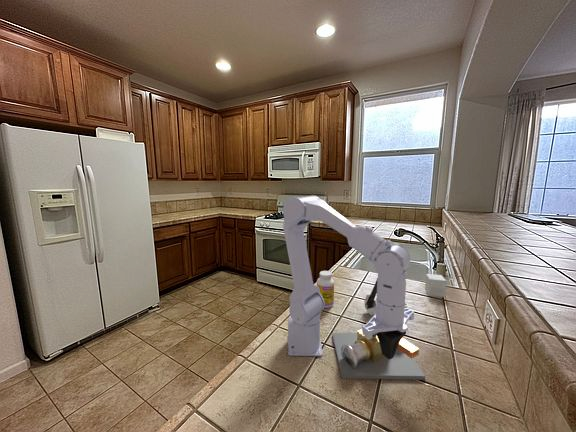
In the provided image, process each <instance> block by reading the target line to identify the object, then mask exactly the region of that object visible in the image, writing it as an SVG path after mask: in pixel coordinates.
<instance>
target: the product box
mask: <svg viewBox="0 0 576 432" xmlns="http://www.w3.org/2000/svg"><path fill="white" fill-rule="evenodd" d="M424 285H425V287H424V290H425V292H426V294H427V295H428V296H429V297H430V296H431V297H438V298H446V288H447V287H446V286H447V280H446V278H444V276H443V275H441V274H431V273H426V274H425V284H424Z"/></svg>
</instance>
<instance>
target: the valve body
mask: <svg viewBox="0 0 576 432" xmlns="http://www.w3.org/2000/svg"><path fill="white" fill-rule="evenodd" d="M356 333H357V341H355V343H354V345H351V346H350V345H348V344H345V345H343V346H342V347H341V354H342V358H343V359H344V360H345V361H346V362H347V363H348V364H349V365H350V366H351V367H352V368H353V369H354V368H356V367H357V366H358V362H360V361H362V360H364V361H367V360H369V359H370V360H371V361H372V362H373V363H374V362H376V361H378V360H380V359H382V358H384V357H385V356H384V355H383V354H382V351H381V346H380V343H379V340H378V337H377V335H376V334H374V335H372V338H371V339H368V338H366V337H365V336H364V335H362V328H361V329H359V330H358V329H357V331H356ZM404 337H405V336H404ZM404 337H403V339H405V338H404Z"/></svg>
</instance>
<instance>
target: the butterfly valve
mask: <svg viewBox="0 0 576 432" xmlns="http://www.w3.org/2000/svg"><path fill="white" fill-rule="evenodd" d="M377 279H378V277H377ZM377 279H376V281H375V283H374V285H373V288H372V290H371V292H370V294H366V296H365V299H364V303H363V304H364V308H365V310H366V312H367V313H368V314H369V316H370V317H371V318H373V316H374V315H375V314H376V301H377ZM408 306H409V304H408V303H407V302H405V308H408Z"/></svg>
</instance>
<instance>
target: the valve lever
mask: <svg viewBox="0 0 576 432" xmlns="http://www.w3.org/2000/svg"><path fill="white" fill-rule="evenodd" d="M370 320H371V319H369V320H368V322H369V321H370ZM397 349H399V350H400V351H401V352H403V353H404V354H406V355H407V356H409V357H410V358H411V359H412V358H414V359H415V358H416V357H418V356H419V351H420V348H419V347H418V346H415V345H414V344H412V343H411V342H409V341H408V340H406V339H405V338H404V339H403V338H402V339H401V341H400V342H399V344H398V347H397Z"/></svg>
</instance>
